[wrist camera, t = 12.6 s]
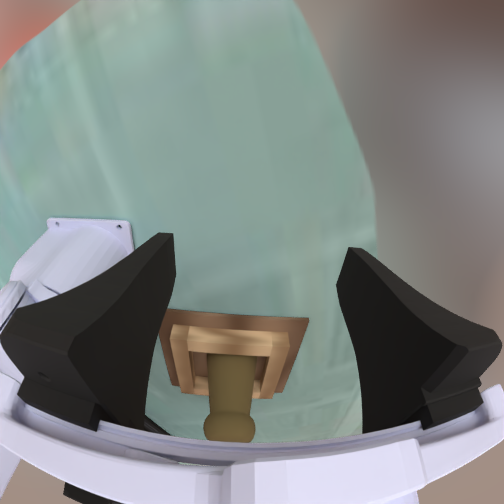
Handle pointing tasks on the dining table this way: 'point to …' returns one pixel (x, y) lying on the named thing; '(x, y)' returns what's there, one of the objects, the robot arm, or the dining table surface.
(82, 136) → the dining table surface
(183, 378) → the socket block
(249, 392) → the cork
